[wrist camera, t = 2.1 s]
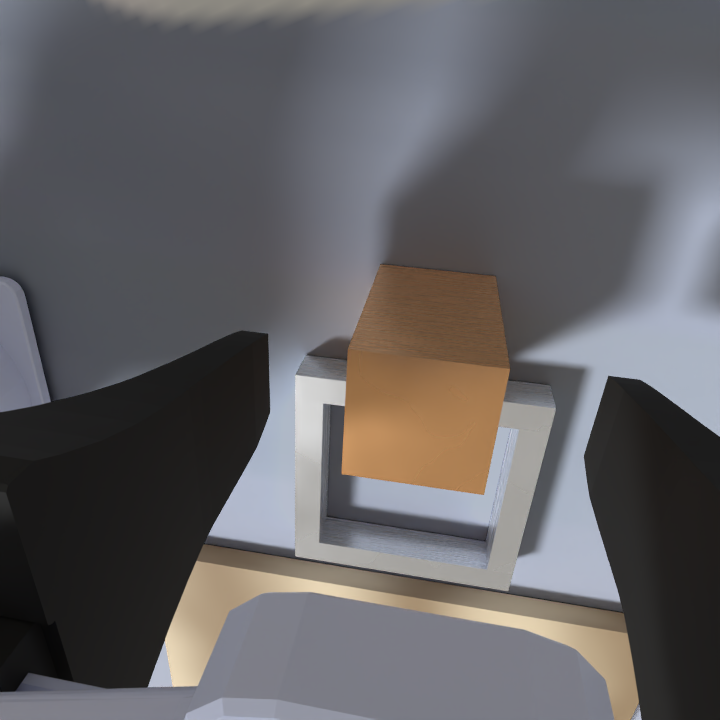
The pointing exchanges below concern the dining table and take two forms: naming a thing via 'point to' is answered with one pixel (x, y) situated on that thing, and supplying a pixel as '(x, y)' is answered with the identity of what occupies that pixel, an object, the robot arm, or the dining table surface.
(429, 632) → the robot arm
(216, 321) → the dining table surface
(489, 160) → the dining table surface
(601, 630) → the board
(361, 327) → the square frame with cube
